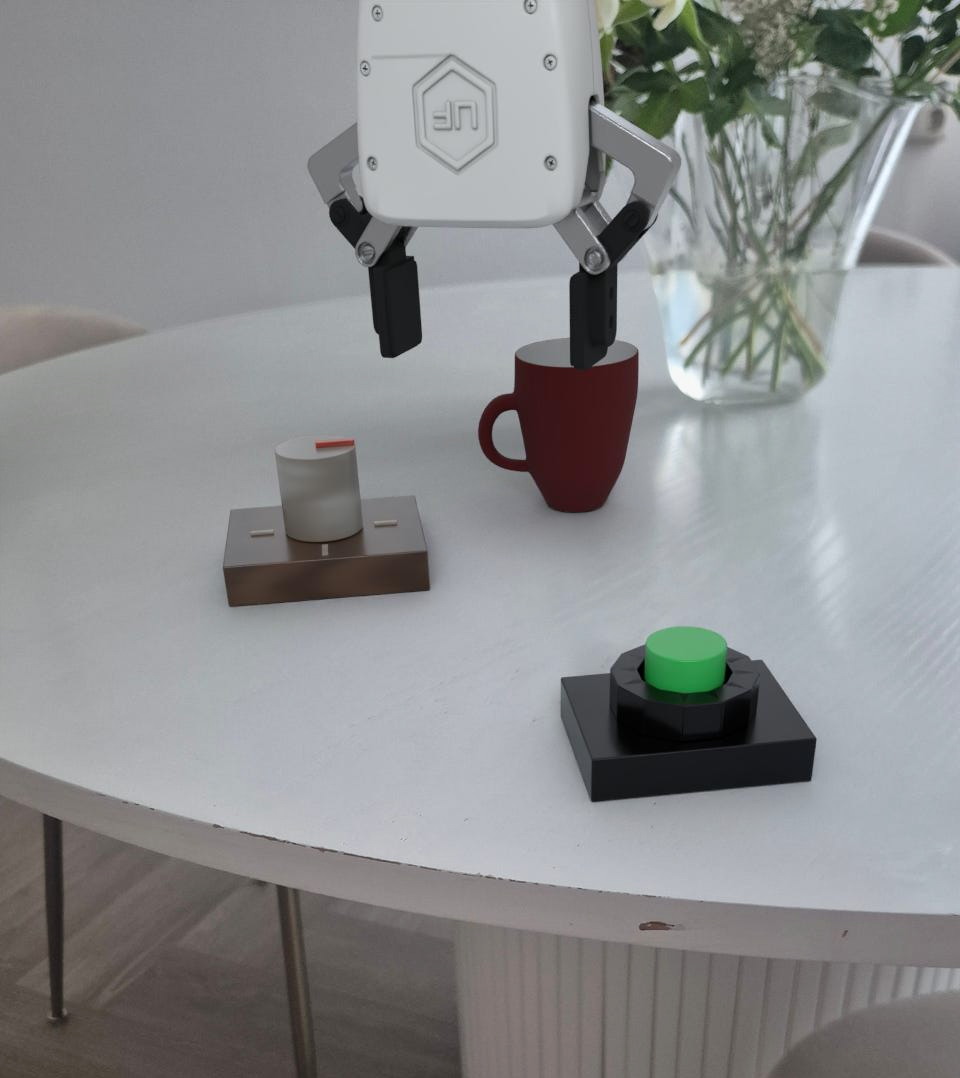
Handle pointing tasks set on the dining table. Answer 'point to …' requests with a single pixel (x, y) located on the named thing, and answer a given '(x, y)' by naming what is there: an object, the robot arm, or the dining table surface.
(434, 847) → the dining table surface
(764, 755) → the switch block
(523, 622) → the dining table surface
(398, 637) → the dining table surface
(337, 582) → the dimmer panel
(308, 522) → the dimmer knob
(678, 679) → the light button
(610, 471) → the mug
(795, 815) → the dining table surface
